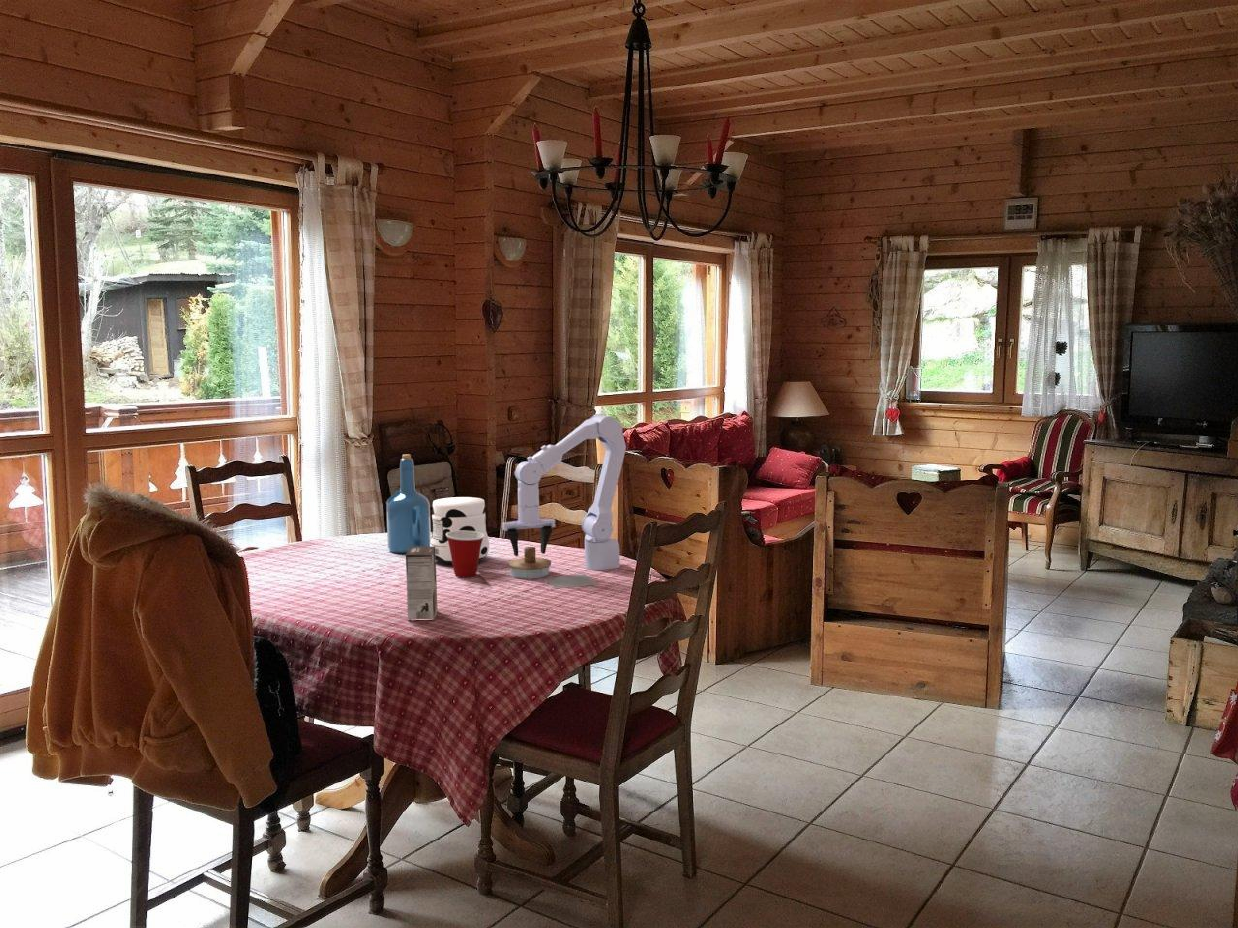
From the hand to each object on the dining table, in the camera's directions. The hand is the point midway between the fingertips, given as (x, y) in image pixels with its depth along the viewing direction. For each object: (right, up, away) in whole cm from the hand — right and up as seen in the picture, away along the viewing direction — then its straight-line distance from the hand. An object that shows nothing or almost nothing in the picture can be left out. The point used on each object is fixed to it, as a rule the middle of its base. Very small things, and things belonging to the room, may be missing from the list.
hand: (529, 554), depth 282 cm
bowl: (0, -6, +1) cm, 7 cm away
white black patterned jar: (-23, -4, +22) cm, 32 cm away
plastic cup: (-18, -6, +3) cm, 19 cm away
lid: (0, -3, 0) cm, 3 cm away
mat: (+12, -8, -8) cm, 16 cm away
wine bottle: (-41, -2, +37) cm, 55 cm away
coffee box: (-22, -12, -37) cm, 45 cm away
